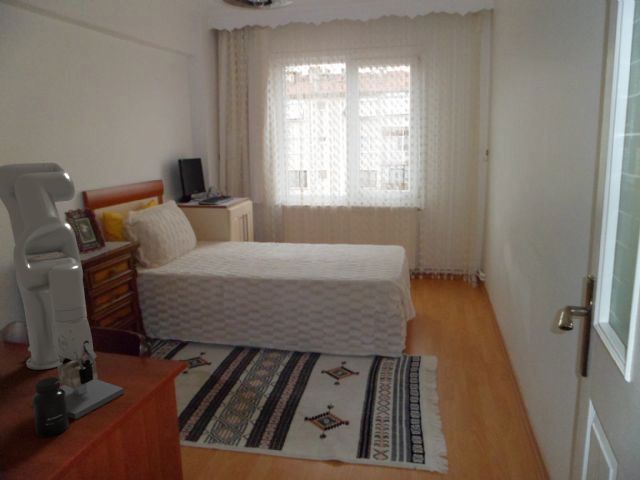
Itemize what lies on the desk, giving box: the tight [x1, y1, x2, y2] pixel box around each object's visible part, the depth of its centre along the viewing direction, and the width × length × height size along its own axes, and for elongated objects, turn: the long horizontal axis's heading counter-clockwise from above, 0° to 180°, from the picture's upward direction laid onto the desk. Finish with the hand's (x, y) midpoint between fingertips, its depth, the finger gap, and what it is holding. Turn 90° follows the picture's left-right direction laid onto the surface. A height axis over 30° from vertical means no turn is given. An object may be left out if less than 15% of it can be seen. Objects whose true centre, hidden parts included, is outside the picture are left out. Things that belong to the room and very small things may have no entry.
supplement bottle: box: [31, 377, 70, 438], centre depth 113 cm, size 7×7×12 cm
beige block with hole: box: [56, 358, 99, 389], centre depth 126 cm, size 6×6×5 cm
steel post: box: [72, 365, 87, 396], centre depth 127 cm, size 2×2×7 cm
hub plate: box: [60, 378, 125, 420], centre depth 127 cm, size 16×14×2 cm
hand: (78, 378), depth 126 cm, fingers closed on beige block with hole, 6 cm apart
